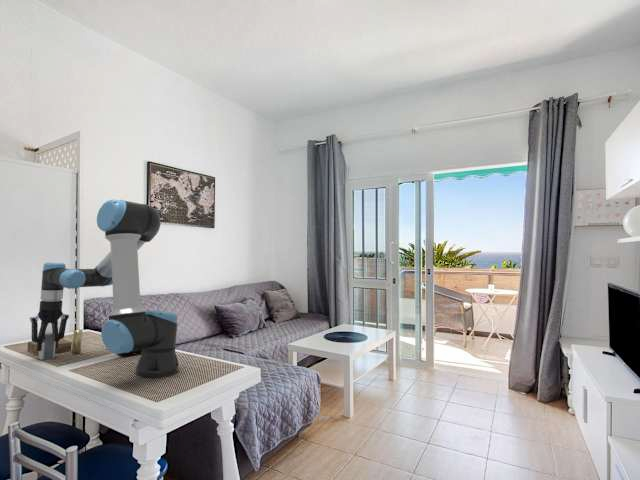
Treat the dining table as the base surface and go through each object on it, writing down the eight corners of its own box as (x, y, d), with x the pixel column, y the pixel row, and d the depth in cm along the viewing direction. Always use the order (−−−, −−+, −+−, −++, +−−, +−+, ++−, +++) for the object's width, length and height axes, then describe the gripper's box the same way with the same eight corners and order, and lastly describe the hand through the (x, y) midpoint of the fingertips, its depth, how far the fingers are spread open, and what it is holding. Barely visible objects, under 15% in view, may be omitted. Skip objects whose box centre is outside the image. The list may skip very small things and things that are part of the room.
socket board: (70, 351, 165) (71, 342, 165) (38, 356, 155) (39, 346, 155) (58, 346, 172) (59, 337, 172) (27, 351, 162) (28, 341, 162)
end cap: (121, 358, 160) (122, 342, 160) (114, 354, 164) (116, 339, 164) (145, 354, 167) (146, 339, 167) (138, 351, 172) (139, 336, 172)
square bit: (52, 358, 154) (54, 333, 154) (43, 360, 151) (45, 335, 151) (49, 357, 155) (51, 332, 156) (40, 358, 153) (42, 333, 153)
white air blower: (40, 341, 179) (43, 303, 180) (59, 339, 184) (62, 302, 185) (42, 344, 173) (45, 305, 174) (62, 342, 179) (65, 304, 179)
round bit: (81, 353, 163) (83, 330, 163) (73, 355, 160) (75, 331, 160) (78, 352, 164) (80, 329, 165) (70, 353, 162) (72, 330, 162)
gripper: (69, 297, 163) (64, 352, 162) (24, 300, 150) (18, 359, 149) (77, 299, 159) (72, 355, 158) (31, 302, 145) (25, 363, 144)
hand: (46, 357), depth 153 cm, fingers closed on square bit, 3 cm apart
